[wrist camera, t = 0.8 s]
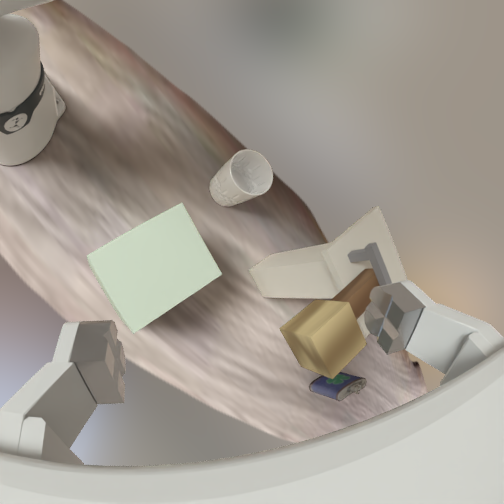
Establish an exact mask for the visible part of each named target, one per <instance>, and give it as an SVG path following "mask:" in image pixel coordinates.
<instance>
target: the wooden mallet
mask: <svg viewBox="0 0 504 504" xmlns="http://www.w3.org/2000/svg"><path fill="white" fill-rule="evenodd" d="M377 286H380V285H379V282H378V280H377V277H376V275H375V272H374V270H373V268H368V269H364V270H363V271H362V272H361V273H360V274H359V275H358V276H357V277H356V278H355V279H353V280H352V281H351V282H350V283H349V284H348V285H347V286H346V287H345V288H344V289H342V290H341V291H340V292H339V293H338V294H337V295H336V296H335V297H334V298H332V299H331V300H330V301H328V300H317V299H315V300H314V301H313V302H312V303H310V304H309V305H308V306H307V307H306V308H304V309H303V310H302V311H301V312H300V313H298V314H297V315H296V316H295V317H293V318H292V319H291V320H290V321H288V322H287V323H286V324H285V325H283V326H282V327H281V328H280V331H281V332H282V334H283V336H284V338H285V339H286V341H287V343H288V345H289V346H290V348H291V350H292V352H293V353H294V355H295V357H296V359H297V360H298V362H299V364H300V366H301V367H303V368H306V369H308V370H311V371H313V372H316V373H318V374H321V375H323V376H326V377H328V378H331V379H333V378H334V377H335V376H336V375H337V374H338V373H339V372H340V371H341V370H342V369H343V368H344V367H345V366H346V365H347V364H348V363H349V362H350V361H351V360H352V359H353V358H354V357H355V356H356V355H357V354H358V353H359V352H360V351H361V350H362V349H363V348H364V347H365V345H366V344H367V343H366V341H365V338H364V336H363V334H362V331H361V329H360V327H359V324H358V322H357V319H358V318H359V317H360V316H361V315H362V314H363V313H364V312H365V310H366V307H367V306H368V305H369V304H370V302H371V300H370V298H369V296H370V293H371V291H372V289H373V288H374V287H377Z"/></svg>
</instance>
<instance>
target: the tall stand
mask: <svg viewBox="0 0 504 504" xmlns="http://www.w3.org/2000/svg"><path fill="white" fill-rule="evenodd" d="M368 268H373V270H374V272H375V275H376V277H377V280H378V282H379V285H380V286H382V285H387V284H392V283H396V282H400V281H404V280H407V277H406V275H405V271H404V269H403V266H402V263H401V260H400V257H399V255H398V252H397V250H396V247H395V244H394V242H393V239H392V237H391V234H390V232H389V230H388V227H387V225H386V222H385V220H384V217H383V215H382V213H381V210H380V208H379V206H377V207H374V208H372V209H371V210H369V211H368V212H367V213H366V214H365V215H363V216H362V217H361V218H360V219H359V220H358V221H356V222H355V223H354V224H353V225H352V226H350V227H349V228H348V229H347V230H346V231H344V232H343V233H342V234H341V235H340V236H338V237H337V238H336V239H335V240H334V241H332V242H331V243H327V244H321V245H316V246H311V247H306V248H301V249H296V250H291V251H285V252H280V253H275V254H271V255H269V256H268V257H267V258H265V259H264V260H262V261H261V262H259V263H258V264H257V265H255V266H254V267H252V268H251V269H250V270H248V271H249V272H250V274H251V276H252V278H253V280H254V281H255V283H256V285H257V287H258V288H259V290H260V292H261V294H262V296H263V297H264V298H329V299H332V298H334V297H335V296H336V295H337V294H338V293H339V292H340V291H341V290H342V289H344V288H345V287H346V286H347V285H348V284H349V283H350V282H351V281H352V280H353V279H355V278H356V277H357V276H358V275H359V274H360V273H361V272H362V271H363V270H364V269H368ZM364 314H365V312H364V313H363V314H362V315H361V316H360V317H359V318H358V319H357V322H358V324H359V327H360V329H361V331H362V334H363V336H364V338H366V337H367V336H368V335H369V334H370V332H369V330H368V329H367V327H366V325H365V320H364Z"/></svg>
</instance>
